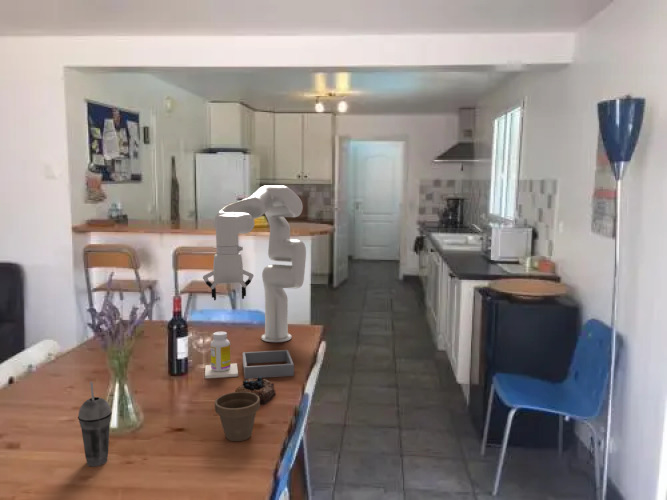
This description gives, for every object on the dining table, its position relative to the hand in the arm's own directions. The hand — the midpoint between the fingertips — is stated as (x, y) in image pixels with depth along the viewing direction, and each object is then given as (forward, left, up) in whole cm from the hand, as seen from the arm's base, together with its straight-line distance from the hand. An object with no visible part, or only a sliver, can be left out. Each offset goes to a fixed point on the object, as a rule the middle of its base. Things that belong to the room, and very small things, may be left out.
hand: (229, 298), depth 193 cm
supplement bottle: (+3, -3, -24) cm, 25 cm away
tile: (+3, -3, -25) cm, 26 cm away
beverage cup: (+61, -32, -25) cm, 74 cm away
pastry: (+28, +7, -26) cm, 39 cm away
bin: (+3, +13, -25) cm, 28 cm away
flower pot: (+54, +1, -25) cm, 60 cm away
